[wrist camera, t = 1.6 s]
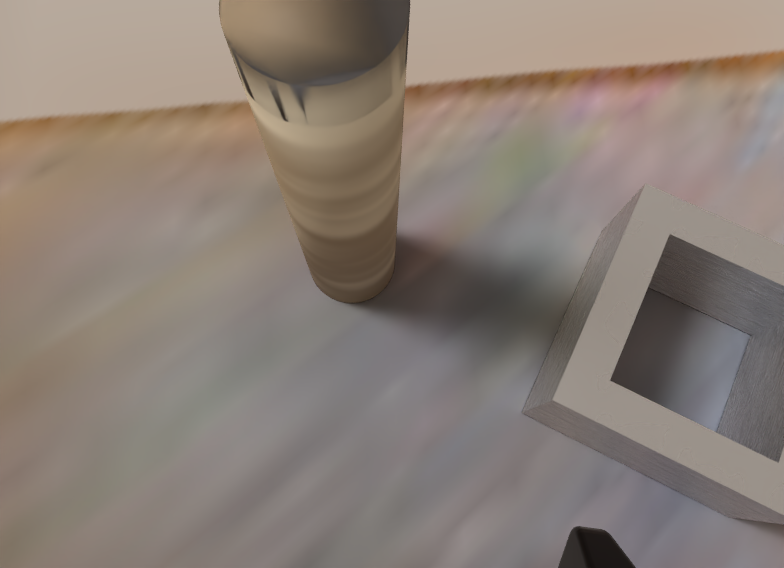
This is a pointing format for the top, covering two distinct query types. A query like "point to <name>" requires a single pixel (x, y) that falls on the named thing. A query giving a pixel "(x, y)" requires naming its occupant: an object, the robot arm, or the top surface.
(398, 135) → the slotted cylinder
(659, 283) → the socket block
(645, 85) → the top surface
